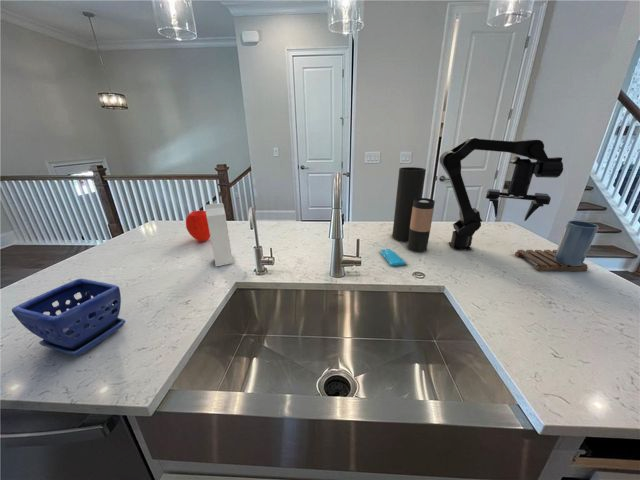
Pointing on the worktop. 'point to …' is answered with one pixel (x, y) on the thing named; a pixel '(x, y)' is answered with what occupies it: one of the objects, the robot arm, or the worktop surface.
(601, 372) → the worktop surface
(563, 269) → the drying rack
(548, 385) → the worktop surface
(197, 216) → the apple
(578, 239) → the tumbler
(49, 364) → the worktop surface
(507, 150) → the robot arm
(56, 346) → the flower pot
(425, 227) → the travel mug
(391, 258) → the sponge
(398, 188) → the vase
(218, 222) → the milk
